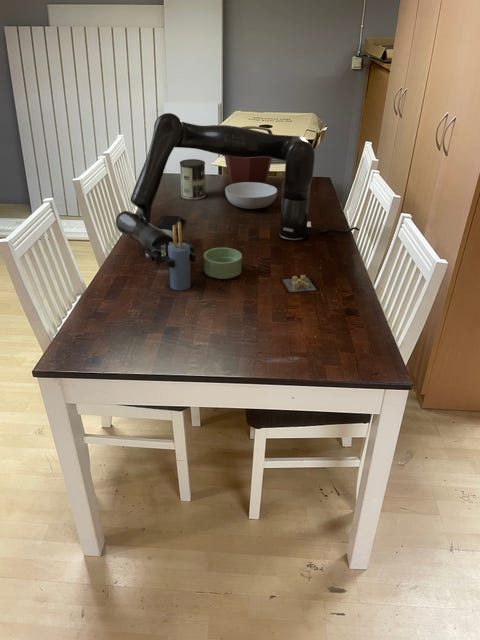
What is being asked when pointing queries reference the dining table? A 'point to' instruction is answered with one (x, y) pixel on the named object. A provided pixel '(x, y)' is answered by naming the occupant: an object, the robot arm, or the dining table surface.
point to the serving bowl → (250, 194)
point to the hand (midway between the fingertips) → (183, 261)
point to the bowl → (222, 263)
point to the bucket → (248, 166)
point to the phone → (169, 222)
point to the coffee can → (192, 179)
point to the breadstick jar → (179, 262)
